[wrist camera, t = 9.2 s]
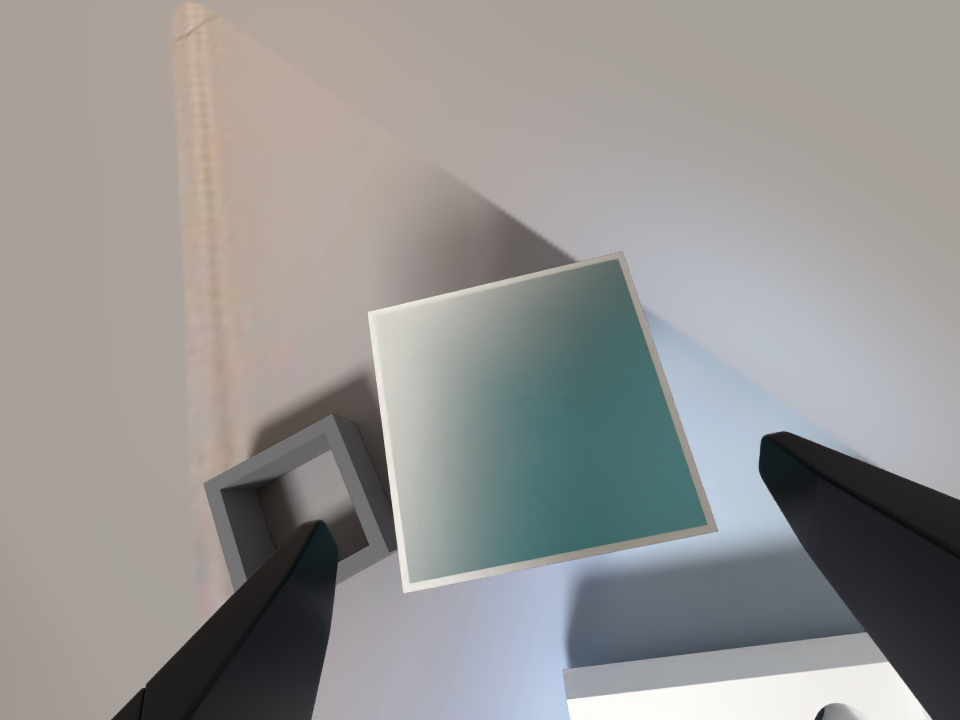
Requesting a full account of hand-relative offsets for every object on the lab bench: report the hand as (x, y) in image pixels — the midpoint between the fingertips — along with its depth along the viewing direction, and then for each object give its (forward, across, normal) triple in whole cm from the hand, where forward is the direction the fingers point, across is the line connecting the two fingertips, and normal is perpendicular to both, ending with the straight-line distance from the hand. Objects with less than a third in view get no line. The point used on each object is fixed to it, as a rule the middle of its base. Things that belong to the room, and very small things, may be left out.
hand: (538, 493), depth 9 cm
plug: (+8, 0, +6) cm, 10 cm away
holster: (+8, +10, +7) cm, 15 cm away
